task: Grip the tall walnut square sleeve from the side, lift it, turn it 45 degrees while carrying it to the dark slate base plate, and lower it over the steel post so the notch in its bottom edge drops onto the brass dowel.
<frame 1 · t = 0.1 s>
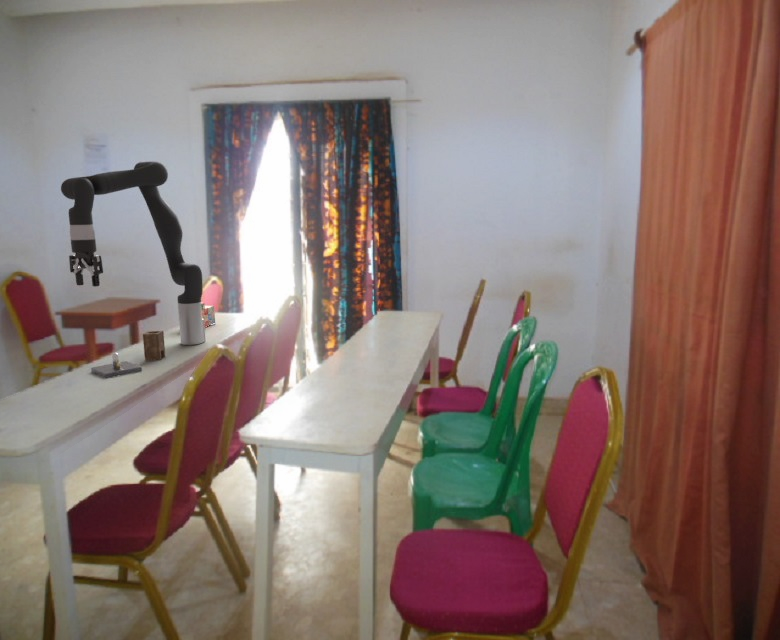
hand: (88, 285, 203), 29 cm above the table, tool pointing down, fingers open, 8 cm apart
stack of blocks: (198, 328, 279), on the table
base plate: (116, 371, 203), on the table
sleeve: (155, 358, 221), on the table
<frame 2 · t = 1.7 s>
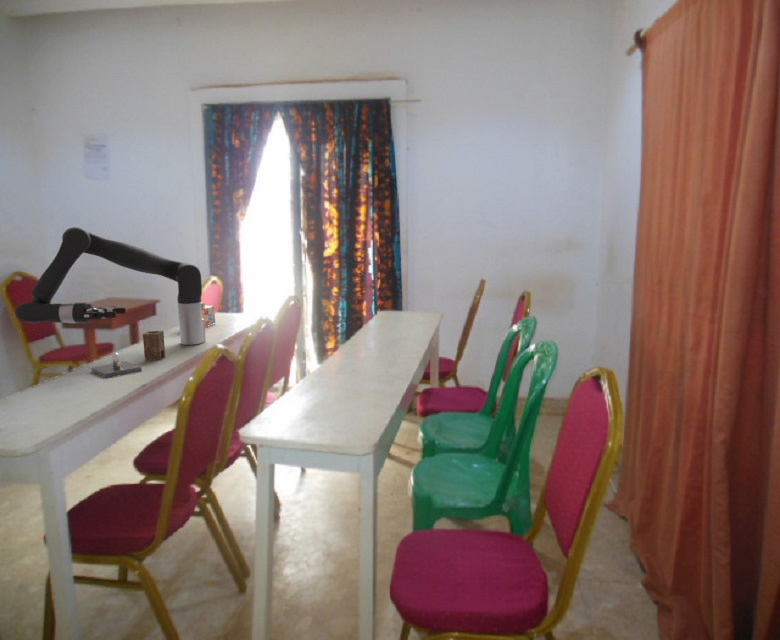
hand: (120, 312, 217), 18 cm above the table, tool horizontal, fingers open, 8 cm apart
nothing on the table moved.
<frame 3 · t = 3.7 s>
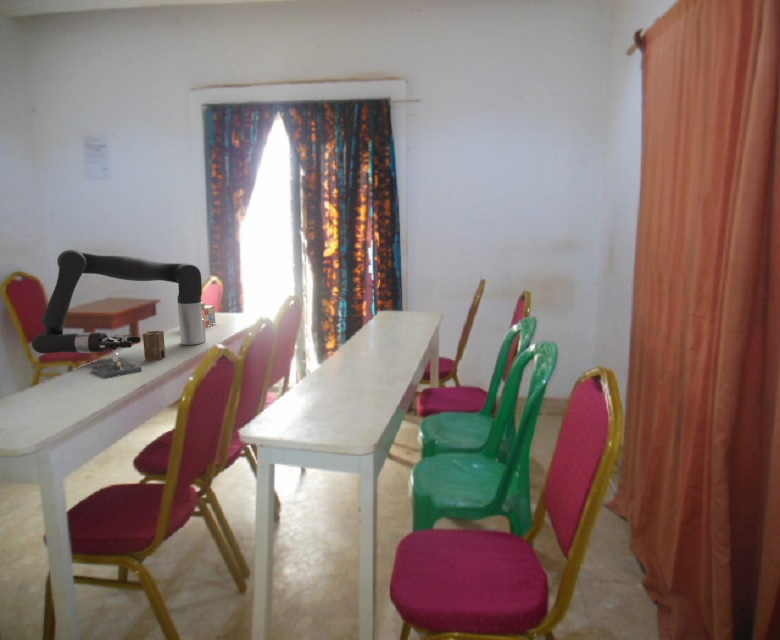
hand: (135, 341, 220), 6 cm above the table, tool horizontal, fingers open, 8 cm apart
nothing on the table moved.
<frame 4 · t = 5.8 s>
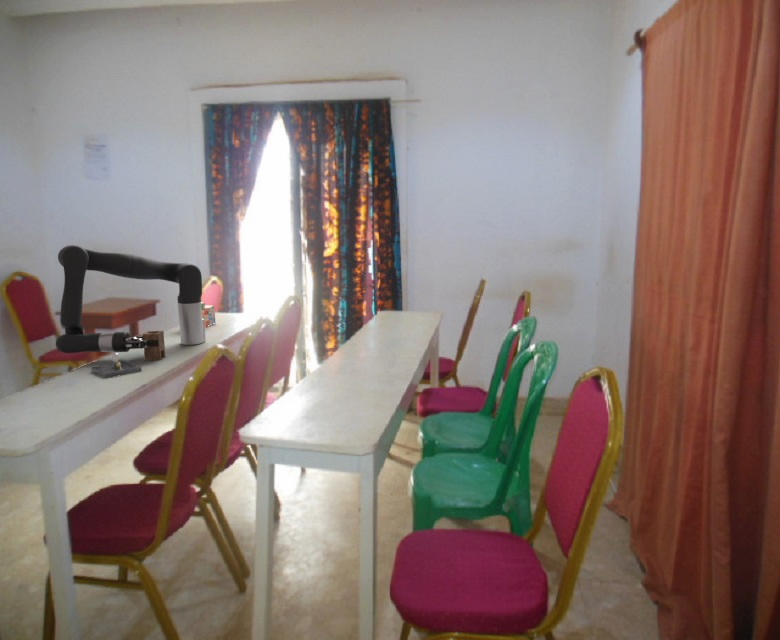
hand: (160, 341, 220), 7 cm above the table, tool horizontal, fingers closed on sleeve, 5 cm apart
sleeve: (155, 358, 221), on the table, touching gripper
everything else where it was.
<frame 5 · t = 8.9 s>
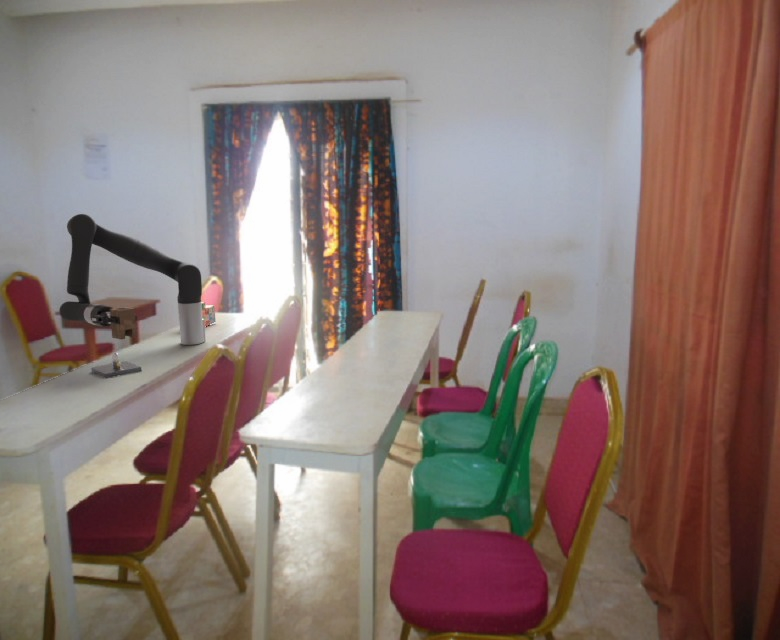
hand: (127, 319, 201), 18 cm above the table, tool horizontal, fingers closed on sleeve, 5 cm apart
sleeve: (124, 337, 204), point 11 cm above the table, touching gripper
when the fingers open (8 cm above the table, at t = 12.1 s): sleeve stays where it is, resting on base plate.
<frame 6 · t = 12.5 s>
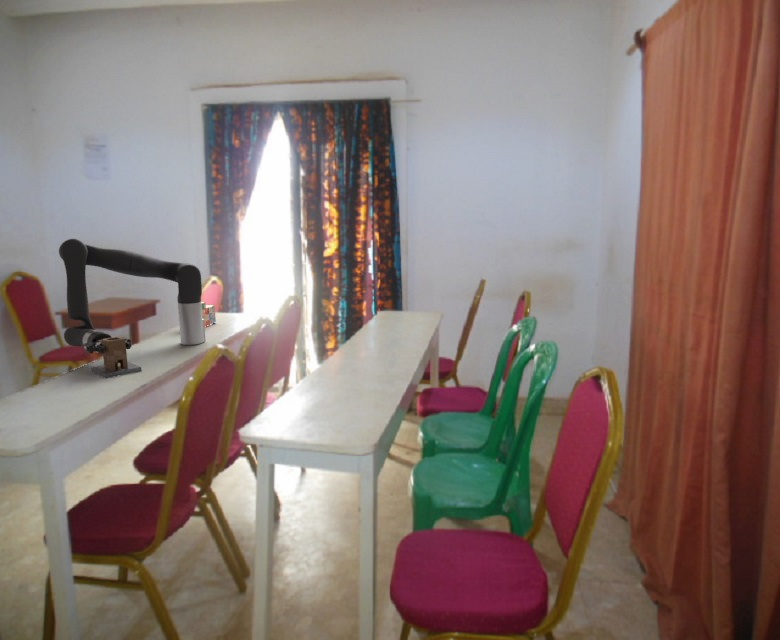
hand: (116, 348, 200), 9 cm above the table, tool horizontal, fingers open, 8 cm apart
sleeve: (116, 367, 203), point 1 cm above the table, touching base plate
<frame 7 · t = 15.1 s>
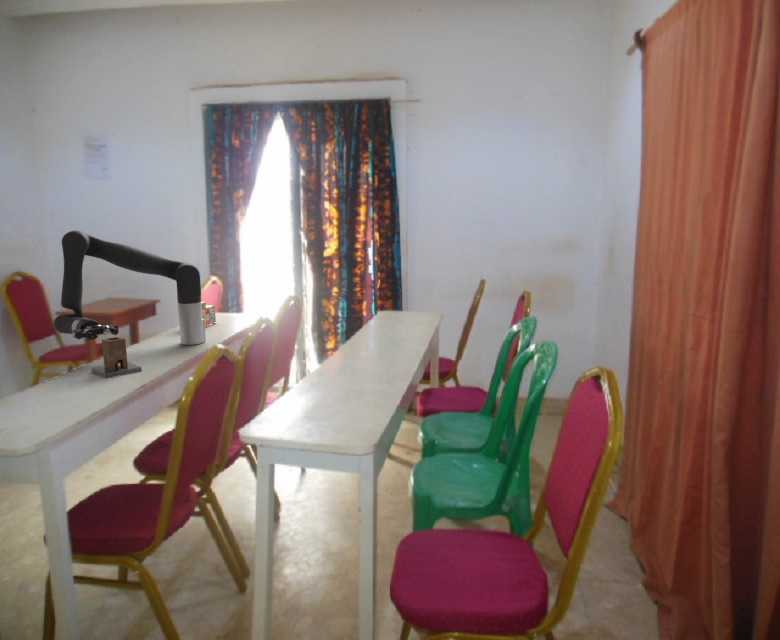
hand: (104, 334, 207), 12 cm above the table, tool horizontal, fingers open, 8 cm apart
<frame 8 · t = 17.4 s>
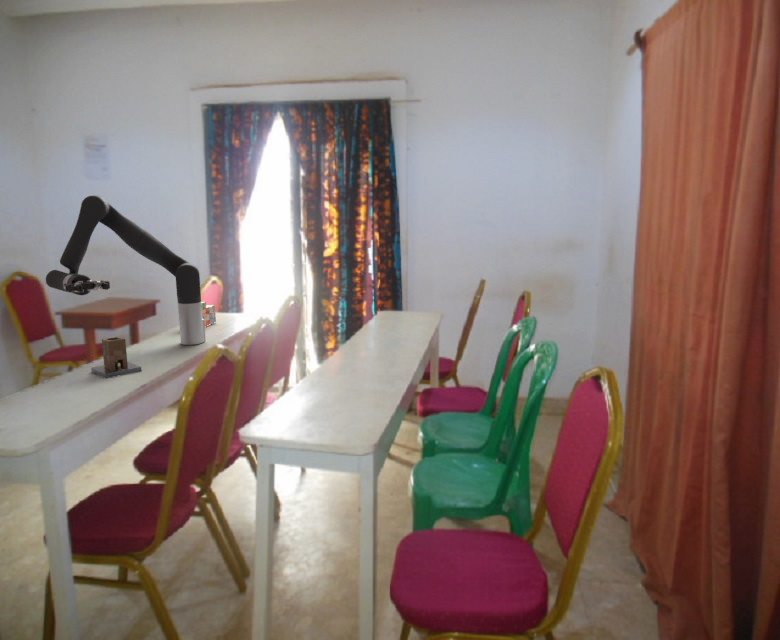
hand: (94, 287, 207), 28 cm above the table, tool horizontal, fingers open, 8 cm apart
at the end: sleeve 0.1 cm off-centre on the base plate, point 1.5 cm above the base plate's base; sleeve tilted 0°; the gripper is holding nothing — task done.
